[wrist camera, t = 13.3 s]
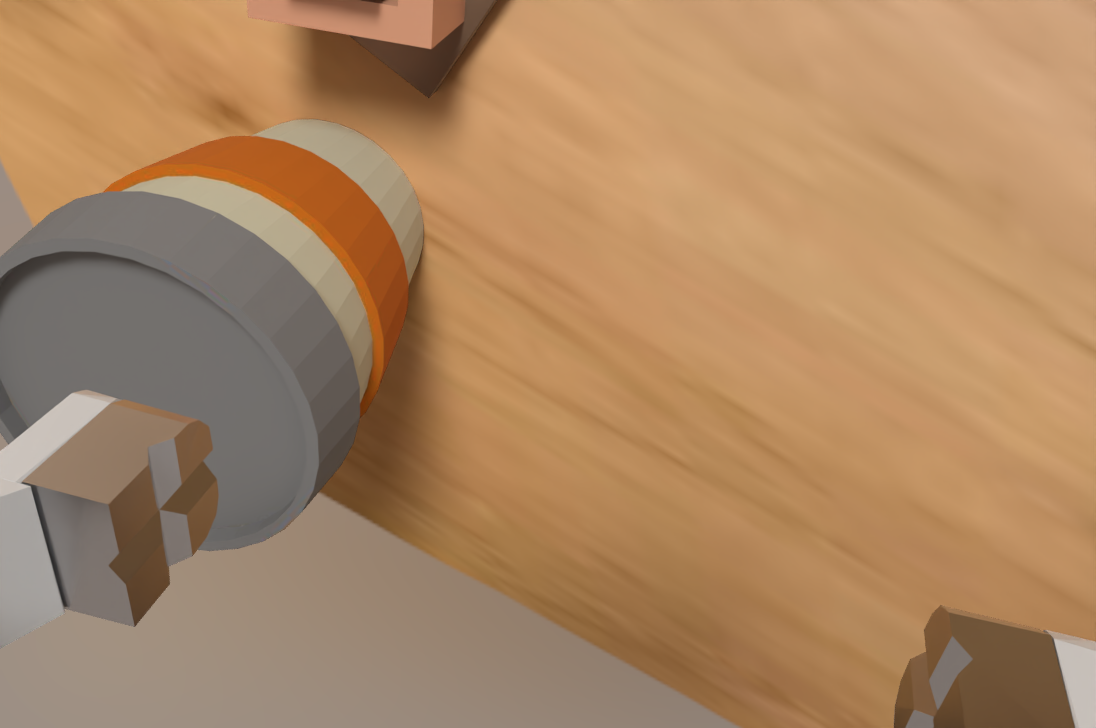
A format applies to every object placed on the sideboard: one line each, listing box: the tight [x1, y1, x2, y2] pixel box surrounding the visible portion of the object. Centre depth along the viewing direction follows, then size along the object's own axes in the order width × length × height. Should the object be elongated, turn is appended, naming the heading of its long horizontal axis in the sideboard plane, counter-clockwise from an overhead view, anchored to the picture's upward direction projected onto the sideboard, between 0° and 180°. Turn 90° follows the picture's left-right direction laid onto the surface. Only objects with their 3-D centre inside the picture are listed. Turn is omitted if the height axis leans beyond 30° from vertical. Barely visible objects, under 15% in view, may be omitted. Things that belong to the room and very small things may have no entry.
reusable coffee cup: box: [0, 119, 424, 551], centre depth 36 cm, size 12×13×15 cm
